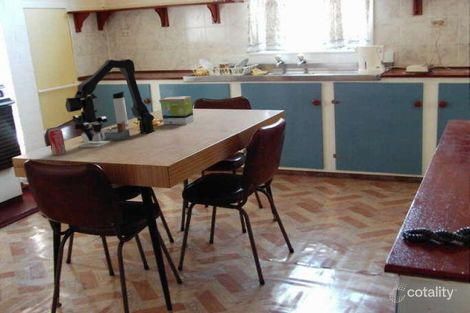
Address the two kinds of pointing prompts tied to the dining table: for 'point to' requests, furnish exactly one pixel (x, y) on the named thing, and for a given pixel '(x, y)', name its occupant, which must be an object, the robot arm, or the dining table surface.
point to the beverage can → (56, 141)
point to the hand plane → (116, 132)
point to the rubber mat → (94, 144)
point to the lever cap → (94, 137)
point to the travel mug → (120, 108)
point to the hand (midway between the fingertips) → (94, 139)
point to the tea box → (177, 110)
